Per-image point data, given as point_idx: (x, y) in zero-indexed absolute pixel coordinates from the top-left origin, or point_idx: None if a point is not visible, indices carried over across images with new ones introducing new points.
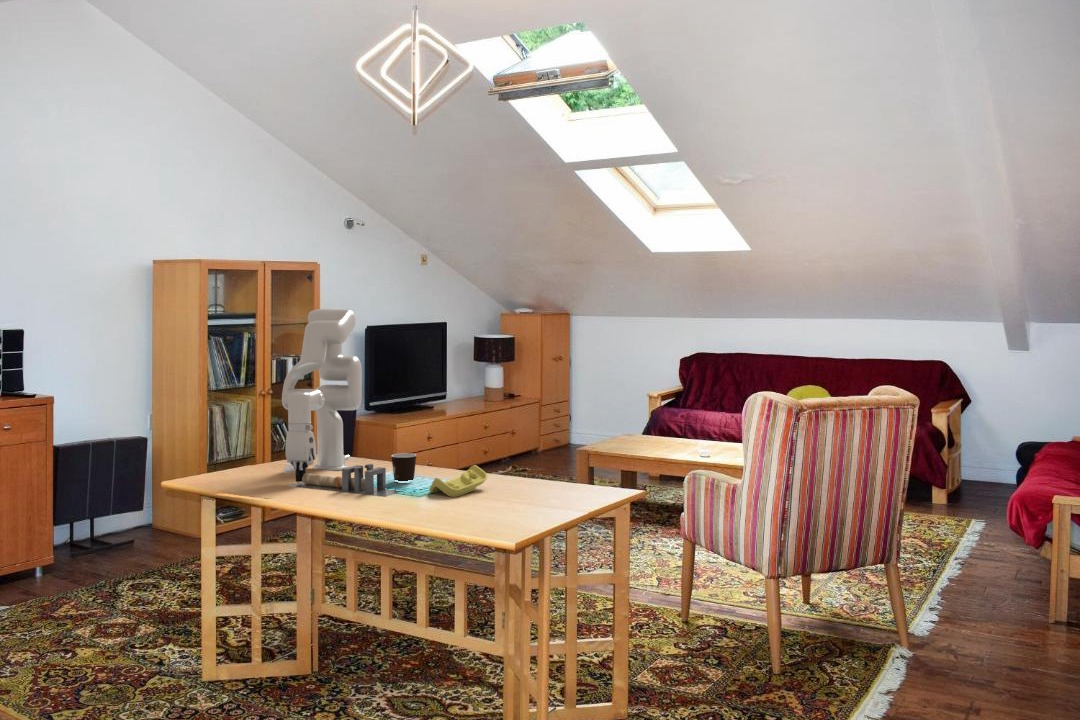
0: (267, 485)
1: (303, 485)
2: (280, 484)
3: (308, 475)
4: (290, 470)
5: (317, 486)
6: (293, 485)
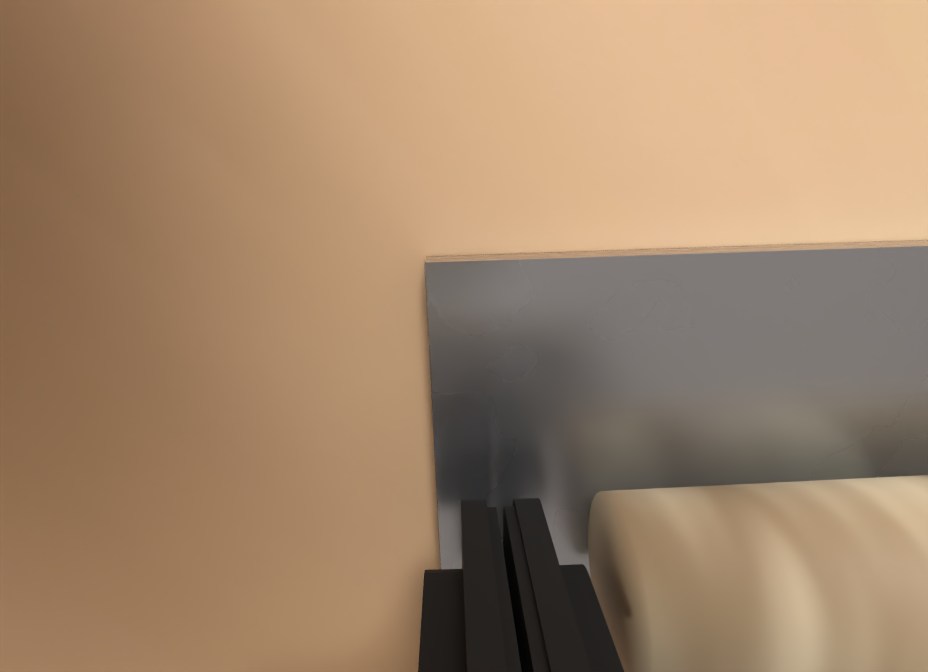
0: (99, 668)
1: None
2: (181, 562)
3: None
4: None
5: None
6: None
